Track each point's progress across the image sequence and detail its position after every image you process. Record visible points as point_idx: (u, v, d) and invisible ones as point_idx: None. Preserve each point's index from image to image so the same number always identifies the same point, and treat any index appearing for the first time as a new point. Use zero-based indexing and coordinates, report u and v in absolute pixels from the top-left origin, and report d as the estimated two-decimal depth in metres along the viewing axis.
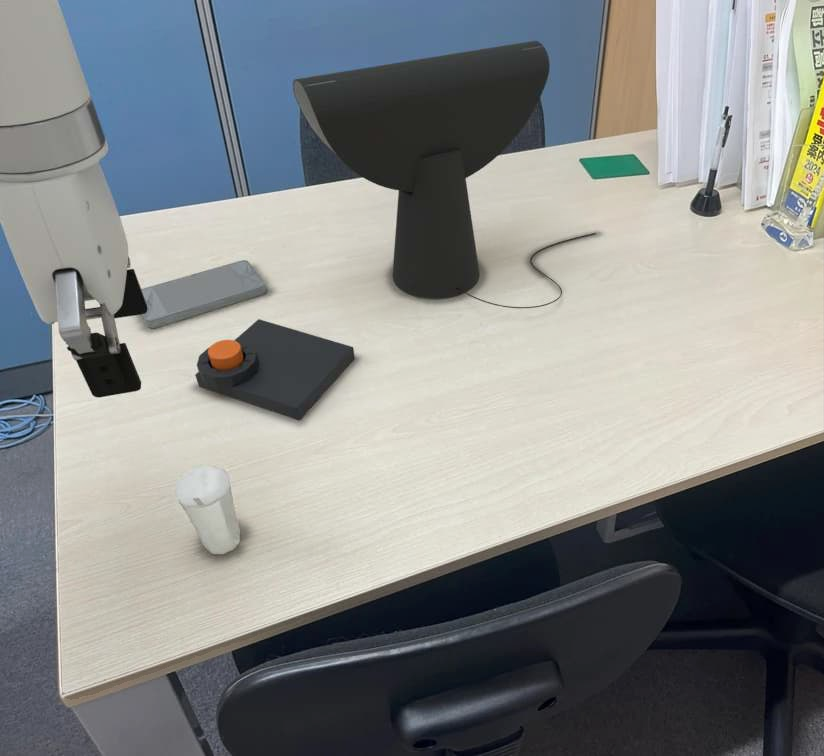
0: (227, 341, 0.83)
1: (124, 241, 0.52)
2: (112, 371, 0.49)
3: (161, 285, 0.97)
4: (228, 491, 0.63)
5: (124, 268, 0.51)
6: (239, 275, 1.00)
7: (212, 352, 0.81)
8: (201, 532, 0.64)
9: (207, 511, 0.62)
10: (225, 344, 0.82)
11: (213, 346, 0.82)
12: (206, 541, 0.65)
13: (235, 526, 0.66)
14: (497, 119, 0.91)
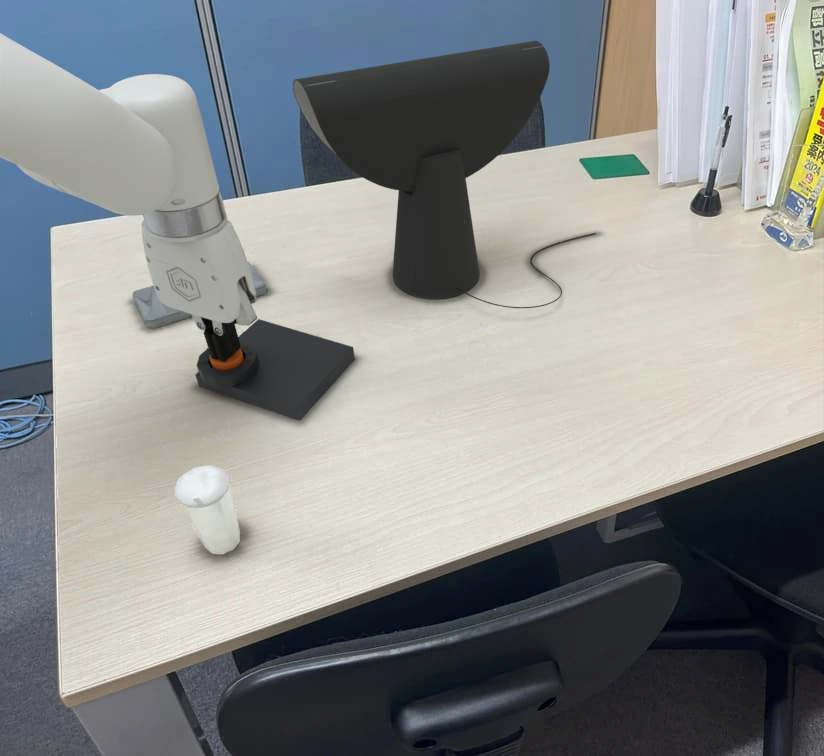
0: None
1: None
2: (234, 336, 0.81)
3: None
4: (228, 491, 0.63)
5: None
6: None
7: None
8: (201, 532, 0.64)
9: (207, 511, 0.62)
10: None
11: None
12: (206, 541, 0.65)
13: (235, 526, 0.66)
14: (497, 119, 0.91)
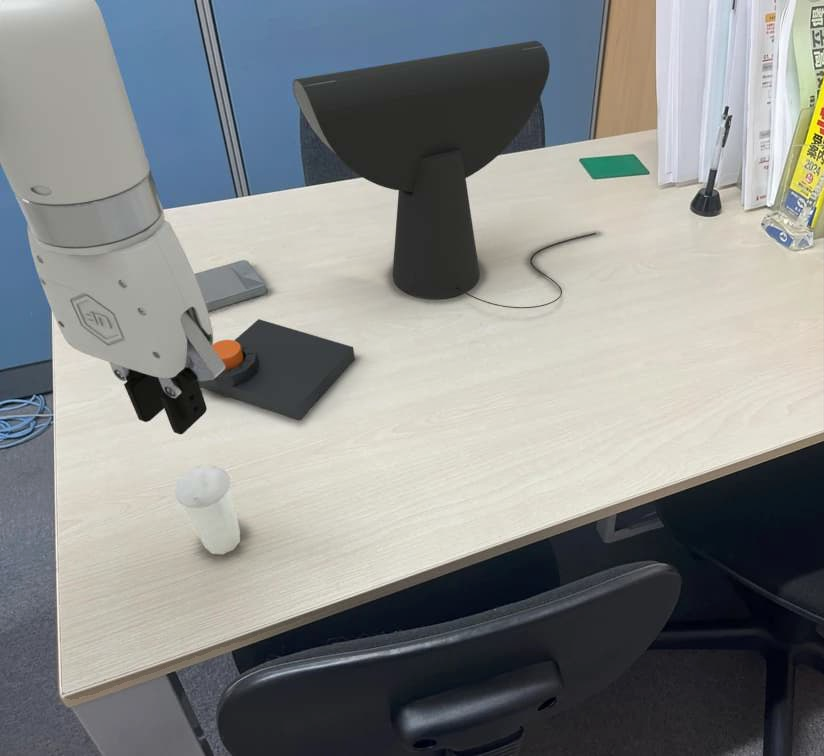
0: (227, 341, 0.83)
1: None
2: (196, 397, 0.54)
3: None
4: (228, 491, 0.63)
5: None
6: (239, 275, 1.00)
7: None
8: (201, 532, 0.64)
9: (207, 511, 0.62)
10: (225, 344, 0.82)
11: (213, 346, 0.82)
12: (206, 541, 0.65)
13: (235, 526, 0.66)
14: (497, 119, 0.91)
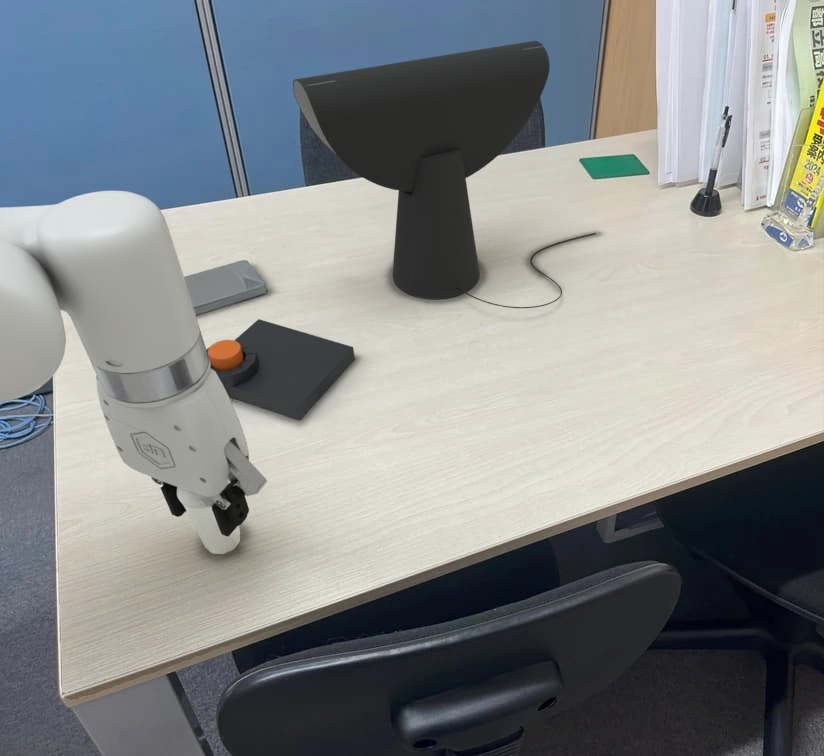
0: (227, 341, 0.83)
1: None
2: (242, 504, 0.62)
3: None
4: None
5: None
6: (239, 275, 1.00)
7: (212, 352, 0.81)
8: (202, 532, 0.64)
9: (209, 512, 0.62)
10: (225, 344, 0.82)
11: (213, 346, 0.82)
12: (206, 541, 0.65)
13: None
14: (497, 119, 0.91)
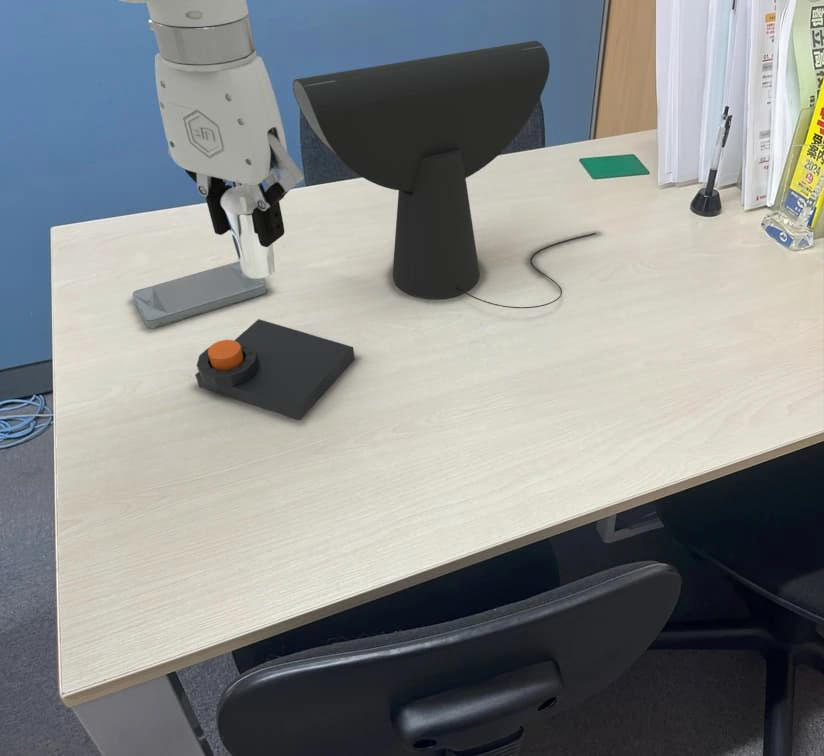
0: (227, 341, 0.83)
1: None
2: (279, 216, 0.68)
3: (161, 285, 0.97)
4: None
5: None
6: (239, 275, 1.00)
7: (212, 352, 0.81)
8: (242, 248, 0.70)
9: (250, 220, 0.68)
10: (225, 344, 0.82)
11: (213, 346, 0.82)
12: (245, 260, 0.71)
13: (272, 251, 0.72)
14: (497, 119, 0.91)
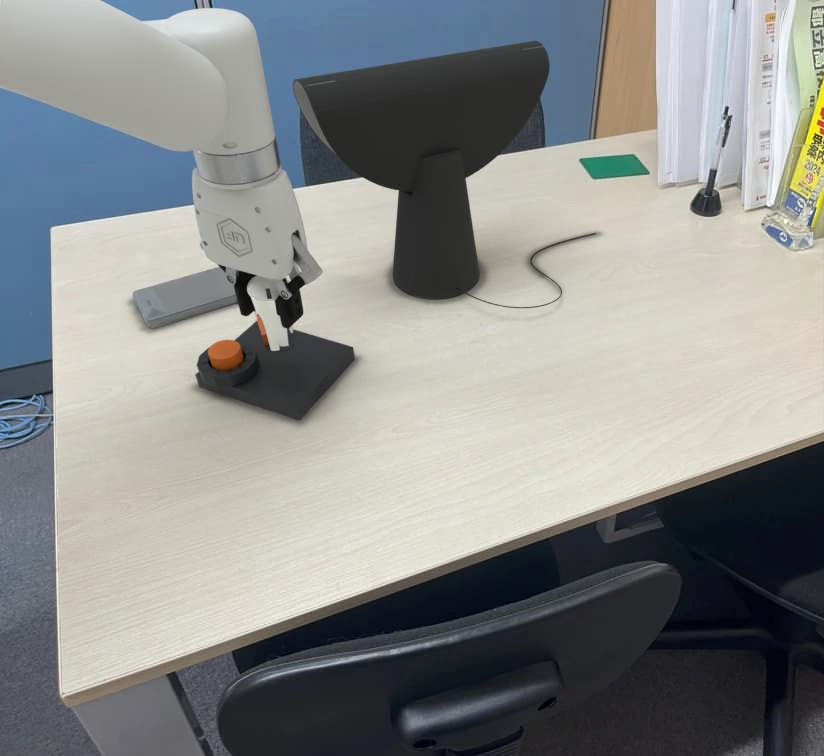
0: (227, 341, 0.83)
1: None
2: (299, 301, 0.76)
3: (161, 285, 0.97)
4: None
5: None
6: None
7: (212, 352, 0.81)
8: (265, 328, 0.78)
9: (273, 305, 0.76)
10: (225, 344, 0.82)
11: (213, 346, 0.82)
12: (268, 338, 0.79)
13: (292, 329, 0.80)
14: (497, 119, 0.91)
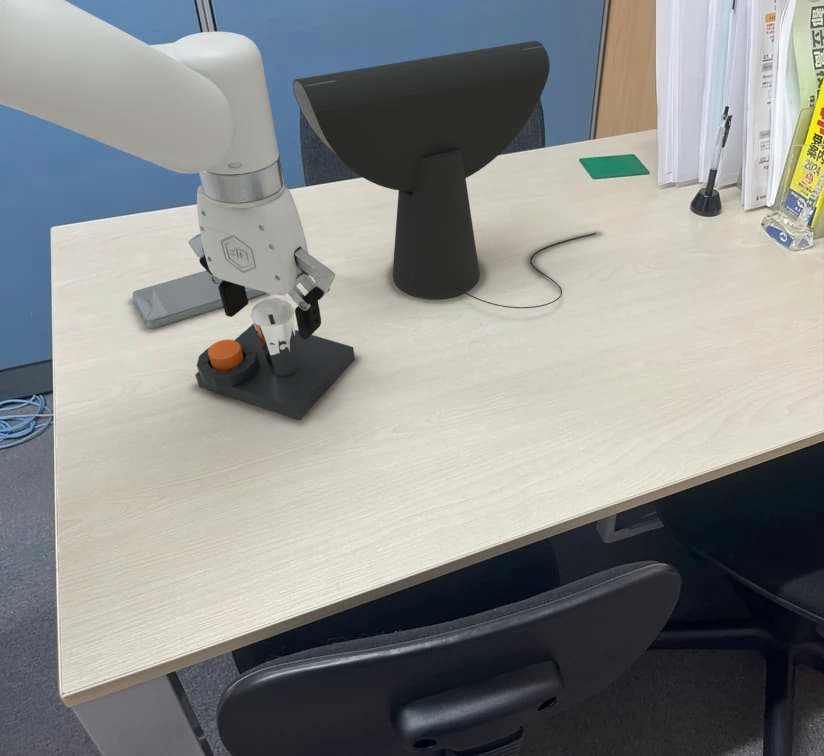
0: (227, 341, 0.83)
1: None
2: (317, 312, 0.76)
3: (161, 285, 0.97)
4: (292, 317, 0.79)
5: None
6: None
7: (212, 352, 0.81)
8: (270, 353, 0.80)
9: (277, 331, 0.78)
10: (225, 344, 0.82)
11: (213, 346, 0.82)
12: (273, 362, 0.81)
13: (295, 352, 0.82)
14: (497, 119, 0.91)
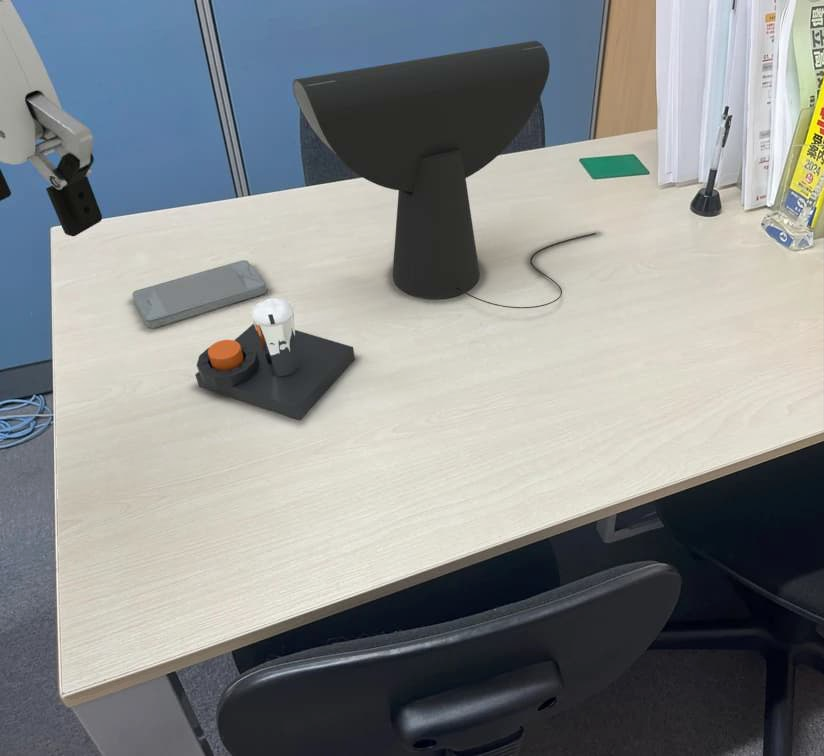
0: (227, 341, 0.83)
1: None
2: (87, 197, 0.54)
3: (161, 285, 0.97)
4: (292, 317, 0.79)
5: None
6: (239, 275, 1.00)
7: (212, 352, 0.81)
8: (270, 352, 0.80)
9: (277, 330, 0.78)
10: (225, 344, 0.82)
11: (213, 346, 0.82)
12: (273, 362, 0.81)
13: (295, 352, 0.82)
14: (497, 119, 0.91)
